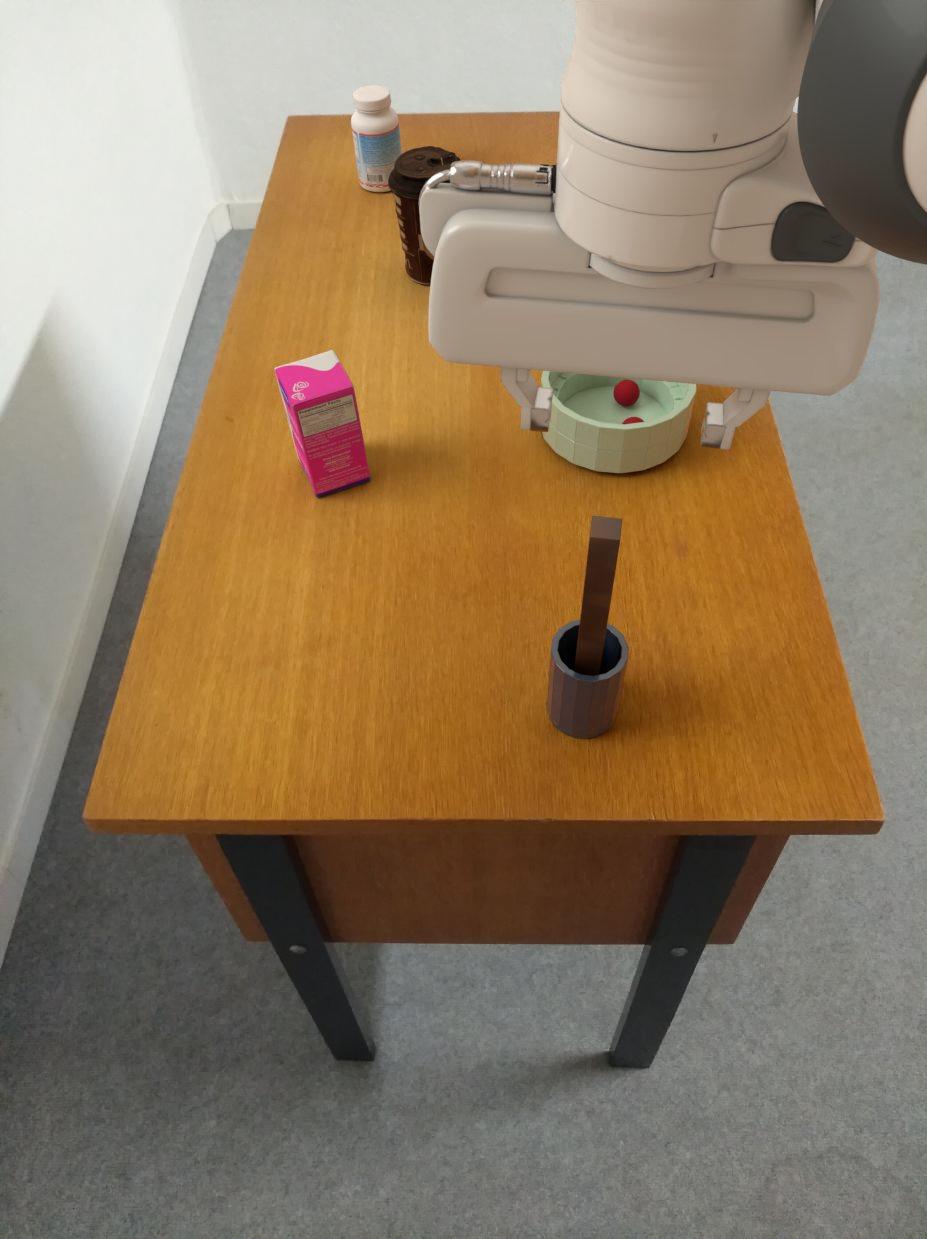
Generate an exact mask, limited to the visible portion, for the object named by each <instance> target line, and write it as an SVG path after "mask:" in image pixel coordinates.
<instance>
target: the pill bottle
mask: <svg viewBox="0 0 927 1239" xmlns="http://www.w3.org/2000/svg"><path fill="white" fill-rule="evenodd" d="M352 100H353V106H354V109H355V110H354V112H353V114H352V115H351V119H350V126H351V133H352V140H353V147H354V156H355V163H356V170H357V176H358V177H357V178H358V183H359V185H360V187H361V188H363V189H364V190H366V191H368V192H373V193H386V192H392V191H391V189H390V188H389V186H388V179H389V176H390V173H391V172H392V170H393V169H394V164H395V161H396V159H397V158H398V157H399V156H400V155H401V154H403V151H402V143H401V133H400V132H401V131H400V121H399V116H398V113H397V112H396V110H395V109H394V108H392V107H391V106H392V98H391V91H390V89H389V88H388V87H386V86H383V85H377V84H370V85H363V86H361V87H359V88H357V89H356V90H355V91H354V92H353V93H352ZM359 179H360V180H359ZM360 181H361V182H360ZM362 182H363V183H364V184H363V183H362ZM365 184H367V185H365ZM368 185H369V186H368ZM373 186H376V187H373ZM379 186H383V187H379Z"/></svg>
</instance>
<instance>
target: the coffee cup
mask: <svg viewBox="0 0 927 1239" xmlns="http://www.w3.org/2000/svg"><path fill="white" fill-rule="evenodd" d="M456 161H462V160H461V158H460V157H459V156H457V154H456V153H455V152H453V151H449V150H447V149H444V148H442V147H440V146H433V145H425V146H420V147H414V148H411V149H409V150H406V151H405V152H402V154H401V155H400V156H399V157H398V158H397V159H396V161H395V164H394V169H393V170H392V172H391V173H390V176H389V179H388V186H389V188H390V189H391V191H390V192H392V196H393V200H394V204H395V213H396V218H397V222H398V223H397V224H398V228H399V237H400V241H401V249H402V250H403V252H404V261H405V263H404V265H405V266H404V269H405V272H406V275H407V276H408V278H409V279H410V280H411V281H413V282H415V283H417V284H420V285H431V276H432V269H433V263H434V258H435V257H434V256H433V255H432V254H431V253H430V251H429V250H428V249H427V247H426V245H425V243H424V241H423V238H422V234H421V229H420V214H419V197H420V193H421V190H422V188H423V186H424V185H425V183H426V182H427V181H428V180H429V179H430V178H431V177H432V176H433V175H435V174H436V173H438V172H441V171H444V170H449V169H450V168H451V164H452V162H456ZM441 183H450V180H447V181H444V182H441Z"/></svg>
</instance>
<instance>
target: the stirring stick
mask: <svg viewBox="0 0 927 1239" xmlns="http://www.w3.org/2000/svg"><path fill="white" fill-rule="evenodd" d="M590 522H591V523H590V529H589V538H588V539H589V540H588V547H587V554H586V555H587V557H586V565H585V573H584V582H583V591H582V598H581V599H582V600H581V609H580V617H579V620H580V625H579V634H578V643H577V652H576V660H575V669H574V671H575V672H577V673H579V674H582V675H590V676H596V675H599V674H600V668H601V661H602V655H603V648H604V642H605V636H606V629H607V623H608V622H609V616H610V609H611V604H612V603H611V602H612V596H613V590H614V584H615V578H616V571H617V565H618V559H619V558H618V557H619V551H620V545H621V539H622V538H621V537H622V527H623V518H621V517H610V516H601V515H600V516H599V515H591V520H590ZM608 624H609V623H608Z"/></svg>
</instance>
